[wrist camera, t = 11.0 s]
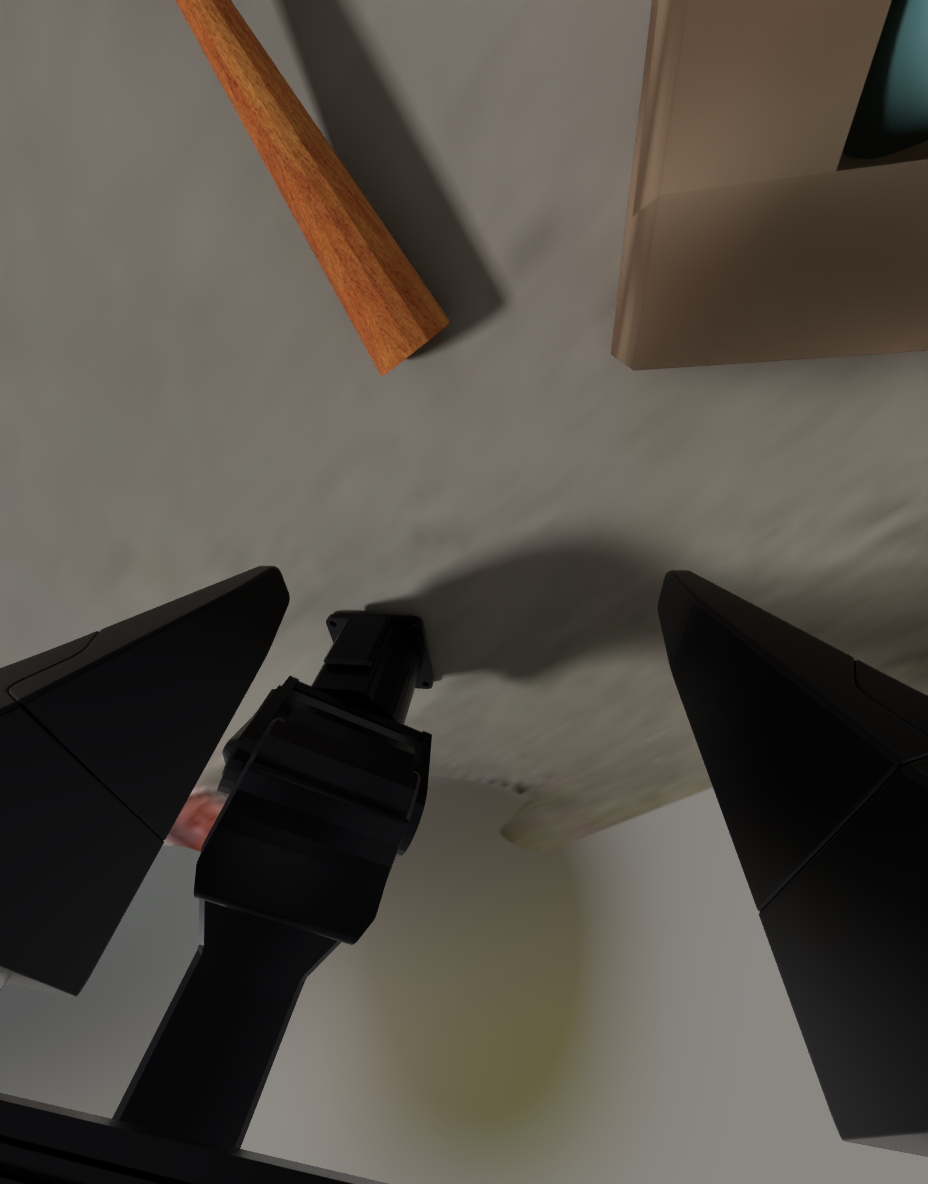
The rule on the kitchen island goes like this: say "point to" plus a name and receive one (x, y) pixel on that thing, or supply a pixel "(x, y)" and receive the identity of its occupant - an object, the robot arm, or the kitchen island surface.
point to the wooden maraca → (319, 192)
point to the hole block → (766, 193)
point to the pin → (894, 87)
